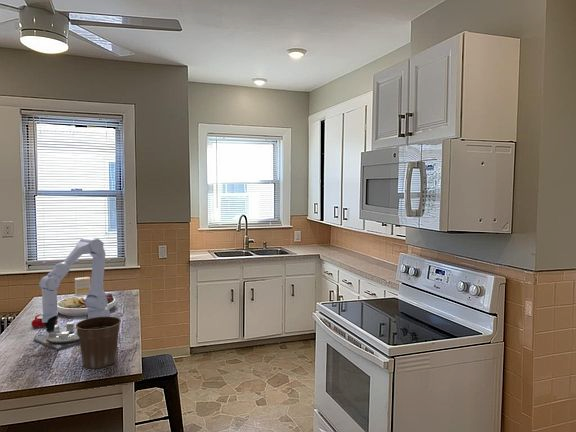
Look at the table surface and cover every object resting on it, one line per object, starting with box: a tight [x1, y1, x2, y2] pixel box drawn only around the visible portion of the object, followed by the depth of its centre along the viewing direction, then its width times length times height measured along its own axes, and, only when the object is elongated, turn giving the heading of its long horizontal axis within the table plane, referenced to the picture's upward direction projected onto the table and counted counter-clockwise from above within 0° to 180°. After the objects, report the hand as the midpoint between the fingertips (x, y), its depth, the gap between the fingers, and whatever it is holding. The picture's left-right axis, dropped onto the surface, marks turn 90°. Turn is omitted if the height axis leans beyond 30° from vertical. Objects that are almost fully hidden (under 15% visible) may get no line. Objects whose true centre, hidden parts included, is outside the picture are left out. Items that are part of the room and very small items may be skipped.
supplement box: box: [74, 276, 91, 297], centre depth 264 cm, size 8×5×13 cm, turn 120°
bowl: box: [57, 292, 116, 317], centre depth 243 cm, size 30×30×8 cm
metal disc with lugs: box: [45, 321, 80, 343], centre depth 196 cm, size 17×17×4 cm
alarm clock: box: [31, 314, 58, 329], centre depth 216 cm, size 10×6×15 cm
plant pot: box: [75, 316, 122, 370], centre depth 171 cm, size 16×16×16 cm
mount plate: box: [33, 334, 80, 351], centre depth 197 cm, size 20×20×1 cm
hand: (50, 333), depth 194 cm, fingers closed
